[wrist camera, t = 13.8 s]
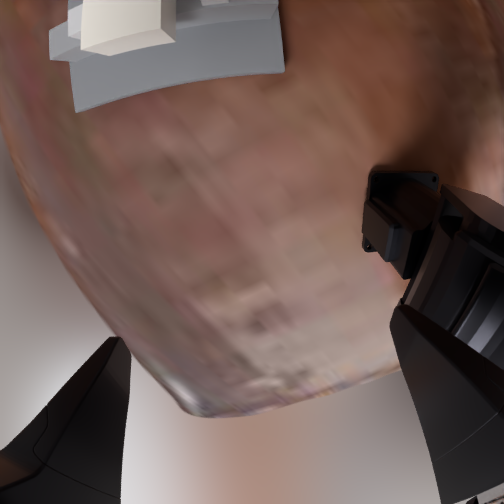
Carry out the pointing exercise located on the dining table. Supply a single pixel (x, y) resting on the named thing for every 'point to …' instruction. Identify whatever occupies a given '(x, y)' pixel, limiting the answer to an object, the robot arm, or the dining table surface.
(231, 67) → the grey pegged plate
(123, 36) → the clay strip
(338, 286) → the dining table surface
